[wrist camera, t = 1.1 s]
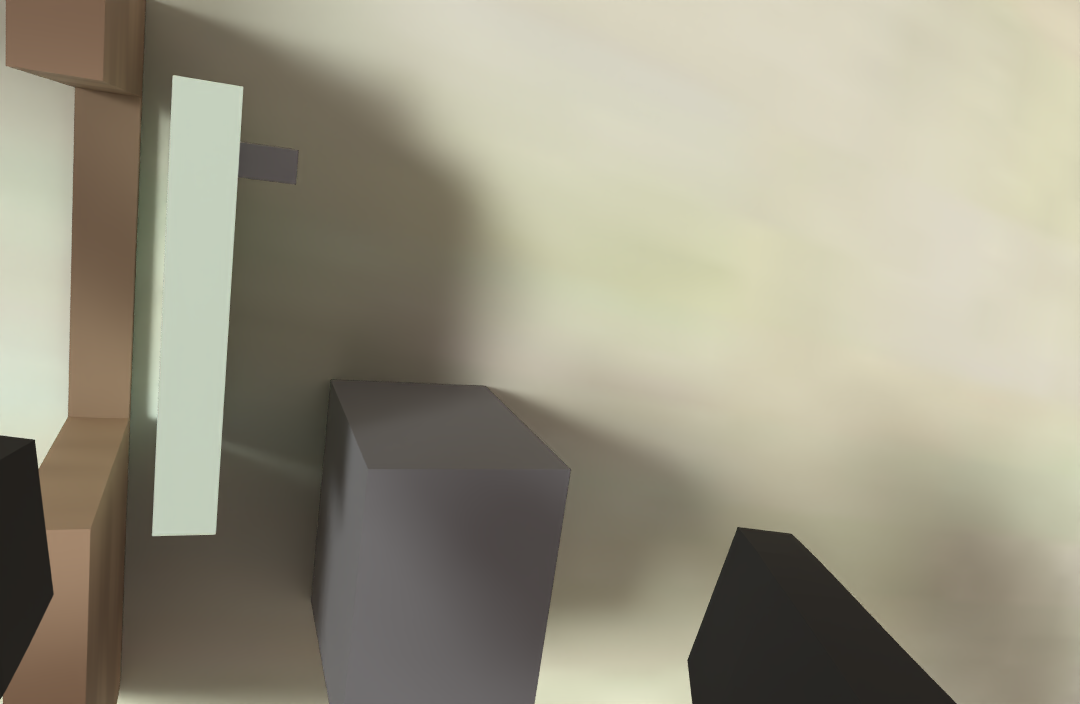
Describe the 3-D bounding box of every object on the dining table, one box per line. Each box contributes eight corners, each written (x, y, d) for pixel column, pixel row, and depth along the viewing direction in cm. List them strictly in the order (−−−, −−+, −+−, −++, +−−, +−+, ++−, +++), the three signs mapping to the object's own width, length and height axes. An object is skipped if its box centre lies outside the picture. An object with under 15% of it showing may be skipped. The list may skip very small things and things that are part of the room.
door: (263, 431, 20) (275, 533, 15) (171, 429, 19) (152, 536, 14) (286, 107, 18) (310, 97, 13) (188, 91, 17) (172, 74, 12)
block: (458, 591, 23) (529, 733, 17) (310, 599, 21) (338, 757, 16) (484, 385, 22) (570, 469, 16) (330, 379, 20) (368, 468, 15)
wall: (120, 685, 20) (79, 889, 15) (64, 690, 20) (2, 902, 14) (145, -3, 17) (106, -69, 11) (79, -15, 16) (6, -90, 11)
